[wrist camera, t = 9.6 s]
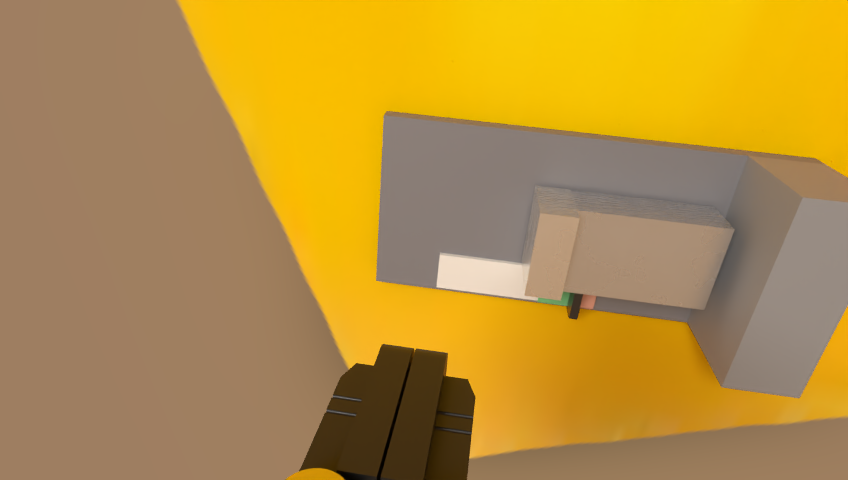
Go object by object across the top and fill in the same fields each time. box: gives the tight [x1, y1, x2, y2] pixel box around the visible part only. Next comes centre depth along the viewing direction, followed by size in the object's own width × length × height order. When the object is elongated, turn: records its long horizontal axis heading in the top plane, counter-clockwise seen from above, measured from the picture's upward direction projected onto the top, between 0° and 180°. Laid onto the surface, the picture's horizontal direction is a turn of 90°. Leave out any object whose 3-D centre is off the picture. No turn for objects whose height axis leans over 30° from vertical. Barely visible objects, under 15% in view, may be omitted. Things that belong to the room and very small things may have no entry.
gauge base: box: [376, 111, 848, 398], centre depth 30 cm, size 24×11×7 cm, turn 86°
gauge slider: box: [522, 186, 735, 319], centre depth 31 cm, size 10×8×4 cm
